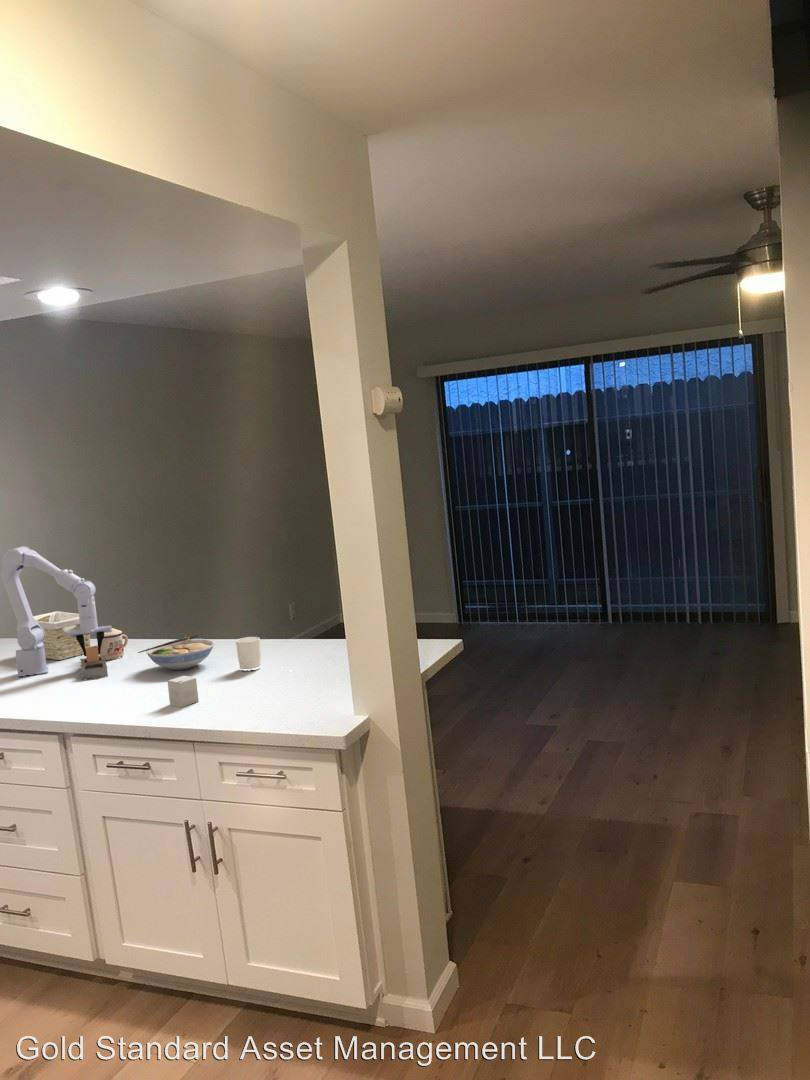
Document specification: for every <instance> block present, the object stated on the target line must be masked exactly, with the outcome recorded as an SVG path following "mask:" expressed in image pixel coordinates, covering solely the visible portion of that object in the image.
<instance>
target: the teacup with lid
mask: <svg viewBox="0 0 810 1080" xmlns="http://www.w3.org/2000/svg"><path fill="white" fill-rule="evenodd" d="M111 628H112V632H104V638H103V641H102V644H101V651H100V654H99V656H105V661H109V660H110V659H113V660H116V659H115V658H118V659H120V658H119V657H121V656H123V655H124V656H125V652H124V650H125V649H124V648H125V647H126V646H127V645H128V642H129V638H128V636H127V635H126V634H123V633H124V632H123V631H122V630H120V629H116V628H114V627H112V626H111ZM123 637H124V641H123ZM96 638H97V635H96ZM124 656H123V657H124ZM121 658H122V657H121ZM110 661H111V660H110Z"/></svg>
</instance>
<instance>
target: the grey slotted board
mask: <svg viewBox="0 0 810 1080" xmlns="http://www.w3.org/2000/svg"><path fill="white" fill-rule="evenodd" d="M80 668H81V676H82V681H85V680H84V679H86V680H90V679H91V680H92V678H93V679H98V677H99V678H104V677H103V676H106V677H109V674H108V666H107V660H105V656H99V661H95V662H88V663H87V657H83V658H80Z"/></svg>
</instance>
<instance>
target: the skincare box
mask: <svg viewBox="0 0 810 1080" xmlns="http://www.w3.org/2000/svg"><path fill="white" fill-rule="evenodd" d="M197 683H198V682H197V677H192V676H188V675H181V676H178V677H175V678H171V679H168V680H167V691H168V698H169V705H171V706H176V707H179V706H180V708H184V707H188V706H189V705H193V704H195V702H196V703H198V702H200V701H199V692H198V684H197ZM192 703H193V704H192Z"/></svg>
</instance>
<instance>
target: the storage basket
mask: <svg viewBox="0 0 810 1080" xmlns="http://www.w3.org/2000/svg"><path fill="white" fill-rule="evenodd" d="M33 617H34V619H35V620H37V621H38V622H39V625H40V627H41V628H42V629H43V630H44V631H45V639H44V641H43V644H44V651H45V659H46V660H55V661H58V660H65V659H68V658H69V659H70V658H73V657H78V656H80V655H81V656H82V655H84V652H83V650H82V648H81V646H80V644H79V642H78V641H77V639H76V636H75V637H71V638H68V635H67V631H73V630H78V629H80V620H79V613H74V612H67V611H66V612H65V611H59V610H57V611H53V612H48V613H42V614H38V615H33ZM84 643H85V647H90V646H91V634H90V635H84Z"/></svg>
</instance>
